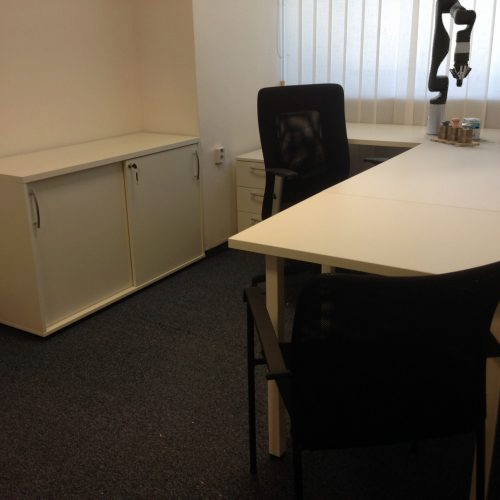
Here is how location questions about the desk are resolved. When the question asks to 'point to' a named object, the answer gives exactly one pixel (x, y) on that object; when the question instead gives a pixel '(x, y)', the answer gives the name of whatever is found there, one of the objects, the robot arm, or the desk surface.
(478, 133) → the light bulb box
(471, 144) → the socket board
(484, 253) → the desk surface
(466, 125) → the plug grey
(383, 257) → the desk surface
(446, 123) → the peg
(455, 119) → the plug terracotta
